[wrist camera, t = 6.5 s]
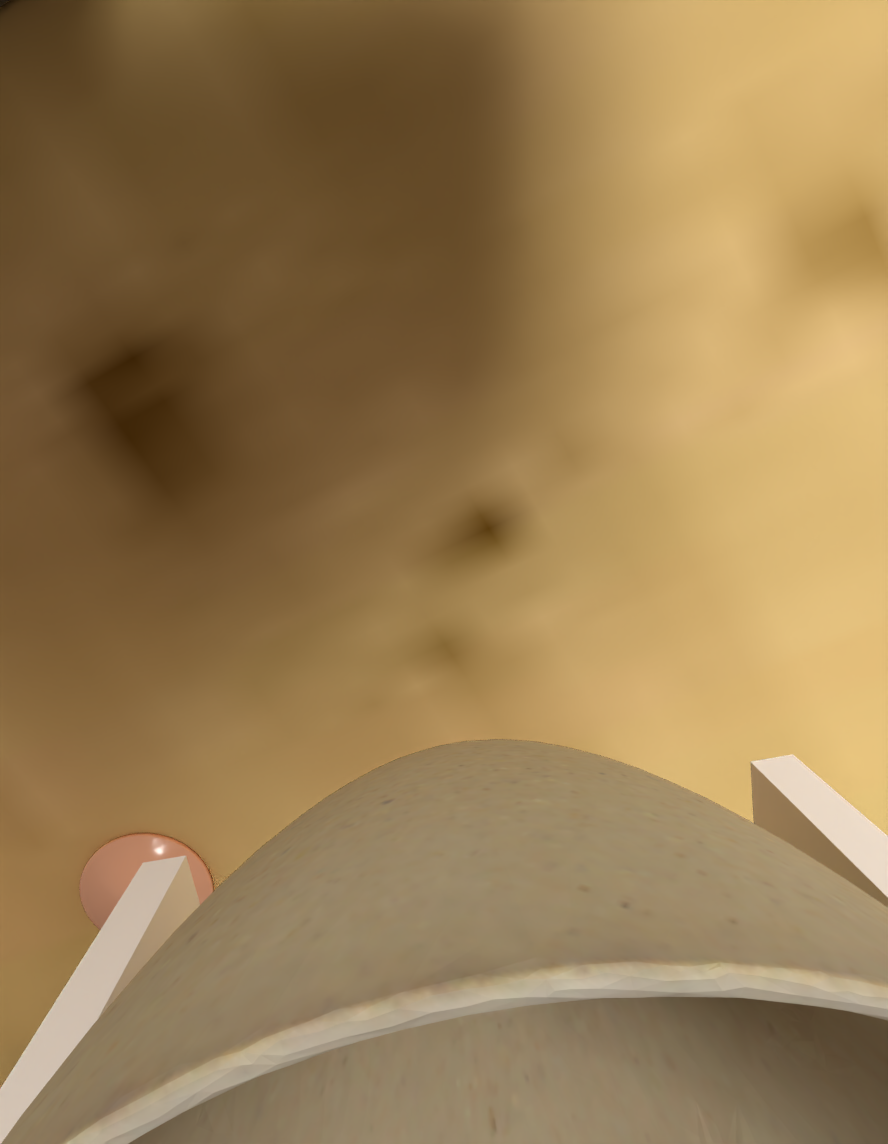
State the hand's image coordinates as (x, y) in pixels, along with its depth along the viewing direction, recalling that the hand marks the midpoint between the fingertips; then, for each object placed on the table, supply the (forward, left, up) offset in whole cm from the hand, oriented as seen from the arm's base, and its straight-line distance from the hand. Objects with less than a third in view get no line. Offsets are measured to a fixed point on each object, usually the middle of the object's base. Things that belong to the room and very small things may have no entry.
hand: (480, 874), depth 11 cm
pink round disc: (+8, -13, -12) cm, 19 cm away
